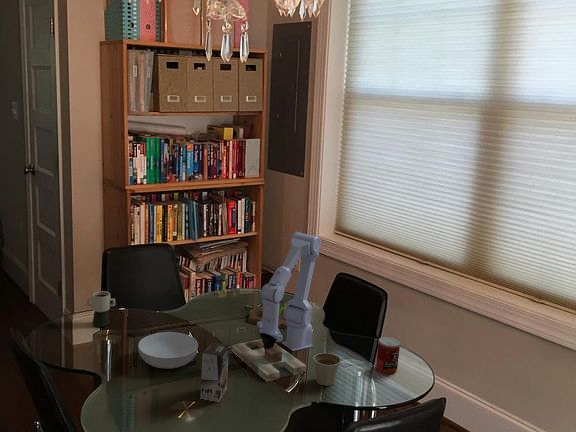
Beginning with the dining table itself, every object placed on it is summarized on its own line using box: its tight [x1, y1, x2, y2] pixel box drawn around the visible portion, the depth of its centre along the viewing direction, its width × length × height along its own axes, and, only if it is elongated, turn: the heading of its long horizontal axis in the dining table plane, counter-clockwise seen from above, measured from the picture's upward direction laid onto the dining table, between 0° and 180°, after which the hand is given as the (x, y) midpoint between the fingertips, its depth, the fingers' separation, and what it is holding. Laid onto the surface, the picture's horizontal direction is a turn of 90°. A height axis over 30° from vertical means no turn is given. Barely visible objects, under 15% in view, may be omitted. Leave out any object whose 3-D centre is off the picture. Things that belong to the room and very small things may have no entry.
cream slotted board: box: [230, 338, 307, 382], centre depth 237 cm, size 16×26×2 cm, turn 33°
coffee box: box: [200, 342, 230, 403], centre depth 210 cm, size 9×6×16 cm
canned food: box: [375, 336, 401, 375], centre depth 236 cm, size 8×8×11 cm
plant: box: [247, 300, 288, 330], centre depth 275 cm, size 20×20×11 cm
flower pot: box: [313, 352, 342, 387], centre depth 224 cm, size 9×9×9 cm
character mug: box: [86, 290, 116, 328], centre depth 258 cm, size 11×7×13 cm, turn 97°
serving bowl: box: [137, 331, 199, 370], centre depth 231 cm, size 21×21×7 cm
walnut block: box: [264, 347, 282, 363], centre depth 233 cm, size 4×4×4 cm
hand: (268, 352), depth 236 cm, fingers closed
